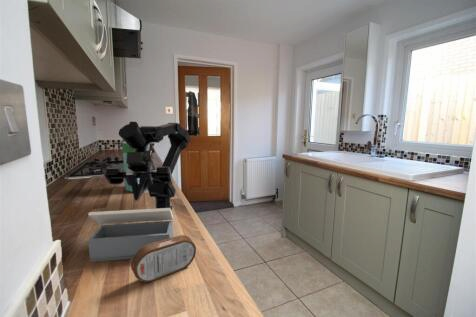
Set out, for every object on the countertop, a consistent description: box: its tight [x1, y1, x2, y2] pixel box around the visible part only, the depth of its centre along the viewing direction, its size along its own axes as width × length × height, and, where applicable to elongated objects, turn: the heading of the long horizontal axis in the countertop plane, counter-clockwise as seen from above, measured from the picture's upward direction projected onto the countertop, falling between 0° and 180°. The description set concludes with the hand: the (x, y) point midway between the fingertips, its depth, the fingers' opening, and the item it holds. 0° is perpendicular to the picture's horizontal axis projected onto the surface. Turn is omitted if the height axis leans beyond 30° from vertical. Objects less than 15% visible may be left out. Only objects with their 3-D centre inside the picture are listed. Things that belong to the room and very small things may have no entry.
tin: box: [130, 234, 197, 283], centre depth 55 cm, size 15×3×8 cm, turn 126°
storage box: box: [87, 220, 174, 263], centre depth 65 cm, size 9×20×6 cm, turn 100°
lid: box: [88, 208, 174, 225], centre depth 66 cm, size 9×20×1 cm
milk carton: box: [121, 141, 148, 193], centre depth 119 cm, size 9×9×25 cm
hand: (136, 200), depth 68 cm, fingers closed
